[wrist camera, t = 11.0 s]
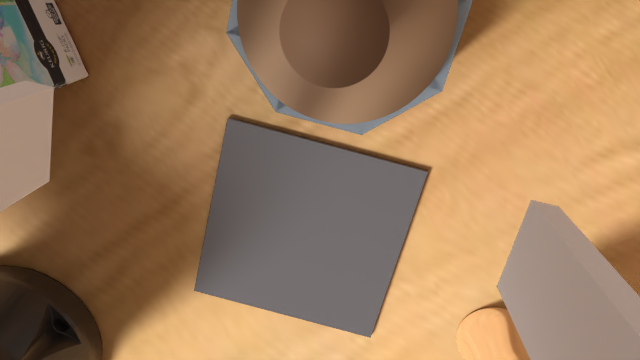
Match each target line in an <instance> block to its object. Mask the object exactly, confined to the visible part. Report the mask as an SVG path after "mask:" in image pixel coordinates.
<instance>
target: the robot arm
mask: <svg viewBox="0 0 640 360" xmlns="http://www.w3.org/2000/svg"><path fill="white" fill-rule="evenodd" d="M53 95H54V87H51V86H47V85H43V84H39V83H34V82H30V81H22V82H19V83H15V84H12V85H8V86H4V87H1V88H0V212H1V211H3V210H5V209H6V208H8V207H9V206H11V205H13V204H14V203H16V202H17V201H19V200H21V199H22V198H24V197H25V196H27V195H29V194H30V193H32V192H33V191H35V190H36V189H38V188H40V187H41V186H43V185H44V184H46V183H48V182H49V180H50V159H51V138H52V117H53ZM497 288H498V290H499V292H500V294H501V296H502V299H503V301H504V303H505V305H506V307H507V310H508V312H509V314H510V316H511V318H512V321H513V323H514V325H515V327H516V329H517V332H518V334H519V336H520V338H521V340H522V343H523V345H524V347H525V349H526V351H527V354H528V356H529V358H530V360H640V296H639V295H638V294H637V293H636V292H635V291H634V290H633V289H632V287H631V286H630V285H629V284H628V283H627V282H626V281H625V280H624V279H623V277H622V276H621V275H620V274H619V273H618V272H617V271H616V270H615V269H614V267H613V266H612V265H611V264H610V263H609V262H608V261H607V260H606V259H605V257H604V256H603V255H602V254H601V253H600V252H599V251H598V250H597V249H596V247H595V246H594V245H593V244H592V243H591V242H590V241H589V240H588V239H587V237H586V236H585V235H584V234H583V233H582V232H581V231H580V230H579V229H578V227H577V226H576V225H575V224H574V223H573V222H572V221H571V220H570V219H569V217H568V216H567V215H566V214H565V213H564V212H563V211H562V210H561V209H560V207H559V206H554V205H550V204H546V203H542V202H537V201H533V200H531V202H530V204H529V207H528V209H527V212H526V214H525V217H524V219H523V222H522V224H521V227H520V229H519V232H518V234H517V237H516V239H515V242H514V245H513V247H512V250H511V252H510V255H509V257H508V260H507V262H506V265H505V267H504V270H503V272H502V275H501V277H500V280H499V282H498V285H497ZM101 357H102V343H101V337H100V334H99V331H98V328H97V325H96V323H95V321H94V319H93V317H92V316H91V314H90V312H89V311H88V310H87V308H86V307H85V306H84V304H83V303H82V302H81V301H80V300H79V299H78V298H77V297H76V296H75V295H74V294H73V293H72V292H71V291H70V290H68V289H67V288H66V287H64V286H63V285H62V284H60V283H59V282H57V281H55V280H54V279H52V278H50V277H48V276H46V275H43V274H41V273H39V272H36V271H33V270H30V269H26V268H21V267H15V266H0V360H101Z"/></svg>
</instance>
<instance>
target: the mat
mask: <svg viewBox="0 0 640 360" xmlns="http://www.w3.org/2000/svg"><path fill="white" fill-rule="evenodd" d="M427 174H428V171H427V170H423V169H420V168H416V167H412V166H408V165H405V164H401V163H397V162H394V161H390V160H386V159H382V158H379V157H375V156H371V155H367V154H364V153H360V152H356V151H353V150H349V149H345V148H341V147H338V146H334V145H330V144H326V143H323V142H319V141H315V140H312V139H308V138H304V137H300V136H297V135H293V134H289V133H285V132H282V131H278V130H274V129H271V128H267V127H263V126H259V125H256V124H252V123H248V122H244V121H241V120H237V119H233V118H230V117H229V118H228V119H227V124H226V129H225V135H224V140H223V145H222V150H221V155H220V160H219V166H218V171H217V176H216V181H215V186H214V191H213V196H212V202H211V207H210V212H209V217H208V222H207V227H206V233H205V238H204V243H203V248H202V253H201V258H200V263H199V269H198V274H197V279H196V284H195V289H194V291H197V292H201V293H205V294H208V295H212V296H216V297H220V298H224V299H227V300H231V301H235V302H239V303H242V304H246V305H250V306H254V307H257V308H261V309H265V310H269V311H272V312H276V313H280V314H284V315H288V316H291V317H295V318H299V319H303V320H306V321H310V322H314V323H318V324H321V325H325V326H329V327H333V328H336V329H340V330H344V331H348V332H351V333H355V334H359V335H363V336H367V337H371V334H372V332H373V329H374V326H375V323H376V320H377V317H378V314H379V312H380V309H381V306H382V303H383V300H384V297H385V294H386V291H387V289H388V286H389V283H390V280H391V277H392V274H393V271H394V268H395V266H396V263H397V260H398V257H399V254H400V251H401V248H402V245H403V243H404V240H405V237H406V234H407V231H408V228H409V225H410V223H411V220H412V217H413V214H414V211H415V208H416V205H417V202H418V200H419V197H420V194H421V191H422V188H423V185H424V182H425V179H426V177H427Z"/></svg>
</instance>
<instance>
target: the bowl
mask: <svg viewBox="0 0 640 360" xmlns="http://www.w3.org/2000/svg"><path fill="white" fill-rule="evenodd" d="M472 2H473V0H458V16H457V24H456V31H455V35H454V38H453V42H452V46H451V48H450V51H449V53H448V56H447V58H446V60H445V62H444V64H443V65H442V67H441V69H440V71H439V72H438V74H437V75H436V77H435V78H434V79H433V81H432V82H431V83H430V85H429V86H428V87H427V88H426V89H425V90H424V91H423V92H422V93H421V94H420V95H419V96H418V97H416V98H415V99H414V100H413V101H411V102H410V103H409V104H407V105H406V106H404V107H403V108H401V109H399V110H398V111H396V112H394V113H392V114H389V115H387V116H385V117H382V118H379V119H376V120H373V121H368V122H363V123H354V124H338V123H329V122H324V121H319V120H316V119H313V118H310V117H307V116H305V115H303V114H301V113H298V112H296V111H294V110H293V109H291V108H290V107H288V106H287V105H285V104H283V103H282V102H281V101H280V100H278V99H277V98H276V97H275V96H274V95H273V94H272V93H271V92H270V91H269V90H268V89H267V88H266V87H265V86H264V85H263V84H262V82H261V81H260V79H259V78H258V77H257V75H256V74H255V72H254V71H253V69H252V67H251V65H250V63H249V61H248V59H247V57H246V54H245V52H244V49H243V46H242V43H241V39H240V35H239V29H238V21H237V0H232V4H231V10H230V15H229V21H228V26H227V32H226V33H227V35H228V36H229V38H230V39H231V41H232V43H233V44H234V46H235V47H236V49H237V51H238V52H239V54H240V56H241V57H242V59H243V60H244V62H245V64H246V65H247V67H248V68H249V70H250V72H251V73H252V75H253V76H254V78H255V80H256V81H257V83H258V84H259V86H260V88H261V89H262V91H263V92H264V94H265V96H266V97H267V99H268V100H269V102H270V104H271V105H272V107H273V108H274V110H275V112H278V113H282V114H285V115H289V116H293V117H296V118H300V119H304V120H308V121H311V122H315V123H319V124H322V125H326V126H330V127H334V128H337V129H341V130H345V131H349V132H352V133H356V134H360V135H362V134H364V133H366V132H368V131H370V130H371V129H373V128H375V127H377V126H379V125H381V124H382V123H384V122H386V121H388V120H390V119H392V118H393V117H395V116H397V115H399V114H401V113H403V112H404V111H406V110H408V109H410V108H412V107H414V106H415V105H417V104H419V103H421V102H423V101H425V100H427V99H428V98H430V97H432V96H434V95H436V94H438V93H439V92H441V91H442V90H443V87H444V84H445V81H446V78H447V75H448V72H449V70H450V67H451V64H452V61H453V58H454V55H455V52H456V49H457V46H458V43H459V40H460V37H461V34H462V31H463V28H464V25H465V22H466V19H467V16H468V13H469V10H470V7H471V5H472Z"/></svg>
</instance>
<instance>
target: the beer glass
mask: <svg viewBox="0 0 640 360" xmlns="http://www.w3.org/2000/svg"><path fill="white" fill-rule="evenodd" d="M456 344H457V347H458V350H459V352H460V354H461V356H462V358H463V359H464V360H530V358H529V356H528V354H527V351H526V349H525V347H524V345H523V343H522V340H521V338H520V336H519V334H518V332H517V329H516V327H515V325H514V323H513V321H512V318H511V316H510V314H509V312H508V310H507V309H503V308H497V307H490V308H483V309H480V310H477V311H475V312H473V313H471V314H470V315H468V316H467V317H466V318H465V319H464V320H463V321H462V322H461V324H460V325H459V327H458V330H457V333H456Z"/></svg>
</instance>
